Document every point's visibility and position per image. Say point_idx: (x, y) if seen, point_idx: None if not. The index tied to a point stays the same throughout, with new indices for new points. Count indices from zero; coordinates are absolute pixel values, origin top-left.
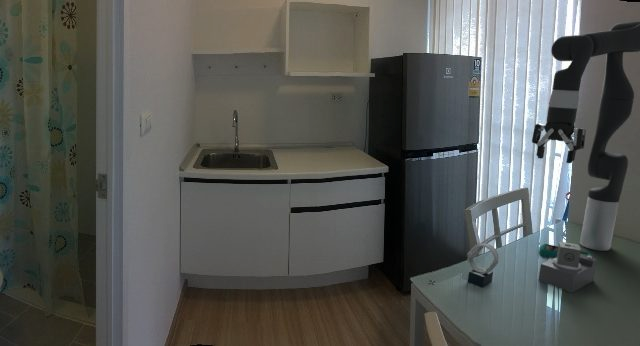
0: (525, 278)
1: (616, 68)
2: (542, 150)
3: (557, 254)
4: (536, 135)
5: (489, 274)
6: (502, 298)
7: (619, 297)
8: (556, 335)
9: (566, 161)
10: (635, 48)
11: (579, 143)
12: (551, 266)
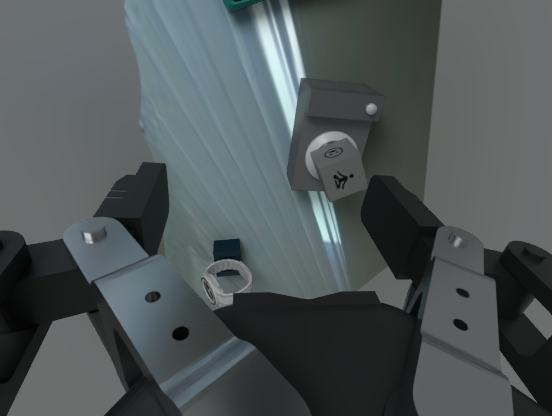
0: (267, 183)
1: None
2: (154, 228)
3: (314, 163)
4: (7, 402)
5: (240, 259)
6: (275, 266)
7: (409, 126)
8: (349, 288)
9: (362, 222)
10: None
11: (523, 344)
12: (310, 186)
